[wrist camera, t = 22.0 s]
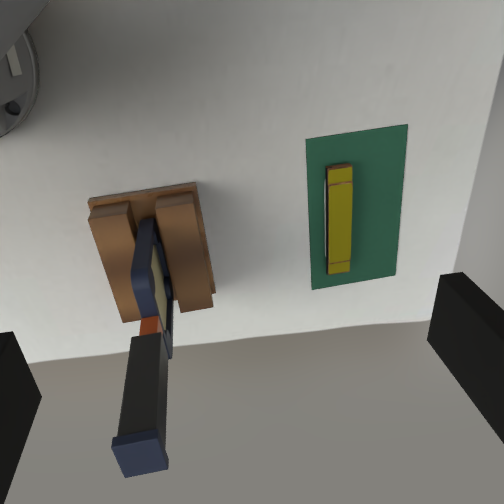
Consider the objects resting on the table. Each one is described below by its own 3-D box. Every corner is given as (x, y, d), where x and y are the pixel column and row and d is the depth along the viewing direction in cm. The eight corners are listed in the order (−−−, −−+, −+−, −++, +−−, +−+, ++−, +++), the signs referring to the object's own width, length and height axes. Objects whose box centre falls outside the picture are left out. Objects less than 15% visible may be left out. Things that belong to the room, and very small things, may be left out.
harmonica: (327, 276, 55) (323, 268, 57) (350, 272, 55) (345, 264, 57) (327, 169, 48) (322, 164, 49) (353, 166, 48) (347, 160, 50)
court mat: (311, 289, 58) (311, 289, 58) (305, 139, 48) (305, 139, 48) (395, 274, 59) (395, 275, 59) (407, 123, 49) (407, 124, 49)
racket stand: (215, 288, 56) (218, 309, 52) (124, 303, 55) (119, 327, 51) (195, 181, 48) (197, 197, 44) (89, 198, 47) (80, 215, 43)
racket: (179, 290, 54) (179, 500, 31) (155, 294, 54) (138, 508, 31) (160, 212, 48) (143, 398, 25) (134, 216, 48) (93, 408, 25)
